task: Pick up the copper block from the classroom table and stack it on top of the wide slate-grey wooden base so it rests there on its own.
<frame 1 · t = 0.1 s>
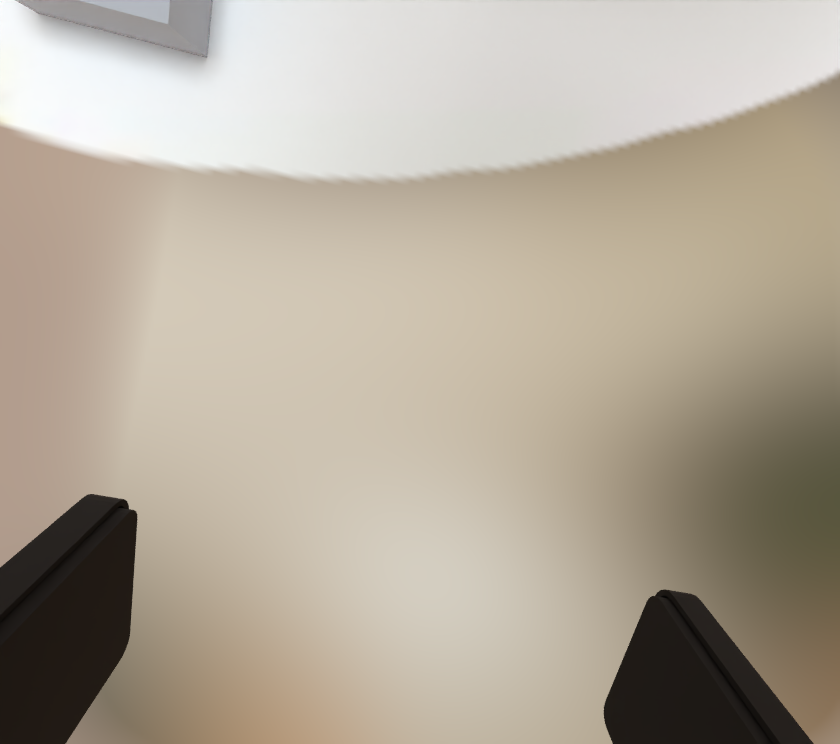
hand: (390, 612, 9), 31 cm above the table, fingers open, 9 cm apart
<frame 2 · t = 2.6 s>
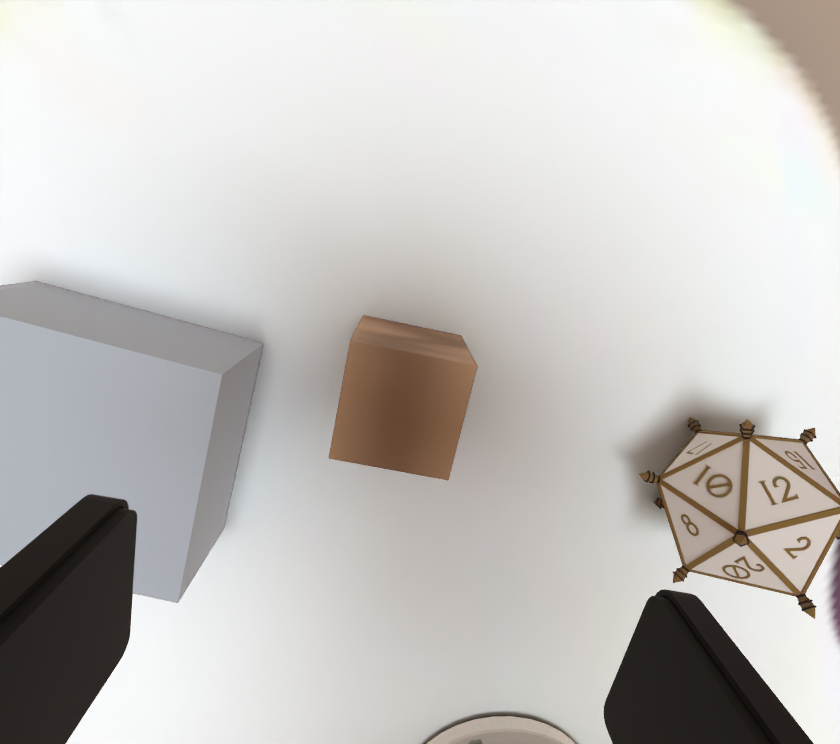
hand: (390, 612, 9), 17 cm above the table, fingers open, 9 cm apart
copper block: (402, 372, 25), on the table
slate base: (139, 412, 26), on the table
game die: (694, 465, 27), on the table
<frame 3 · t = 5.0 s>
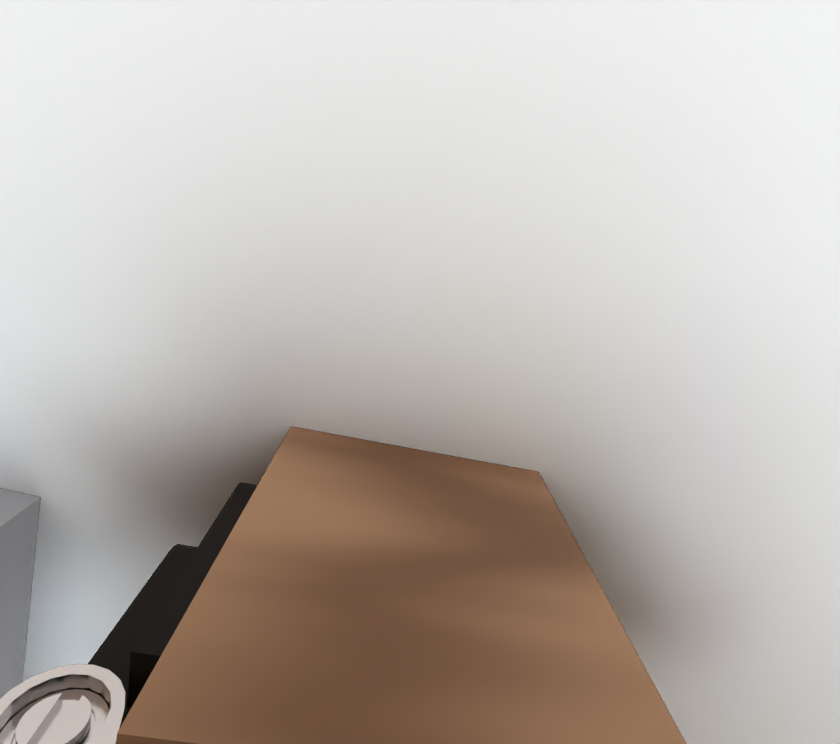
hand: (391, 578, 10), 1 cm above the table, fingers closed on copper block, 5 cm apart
copper block: (392, 555, 10), on the table, touching gripper
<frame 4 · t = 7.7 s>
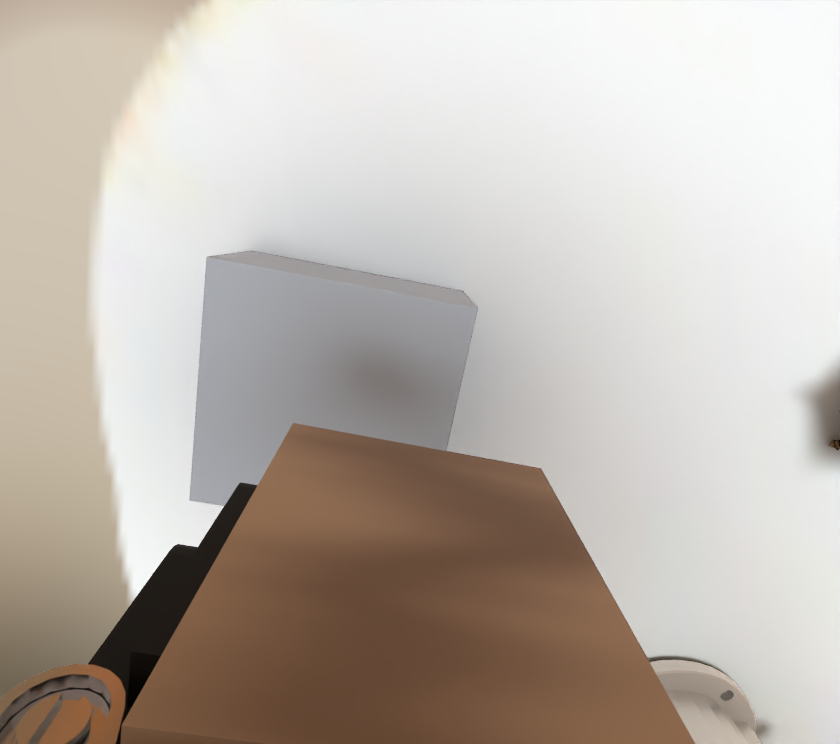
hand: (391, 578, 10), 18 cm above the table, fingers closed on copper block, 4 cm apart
copper block: (394, 552, 10), point 17 cm above the table, touching gripper
slate base: (343, 370, 27), on the table
when the fingers open (8 cm above the table, at t = 10.4 s): copper block drops 2 cm, resting on slate base.
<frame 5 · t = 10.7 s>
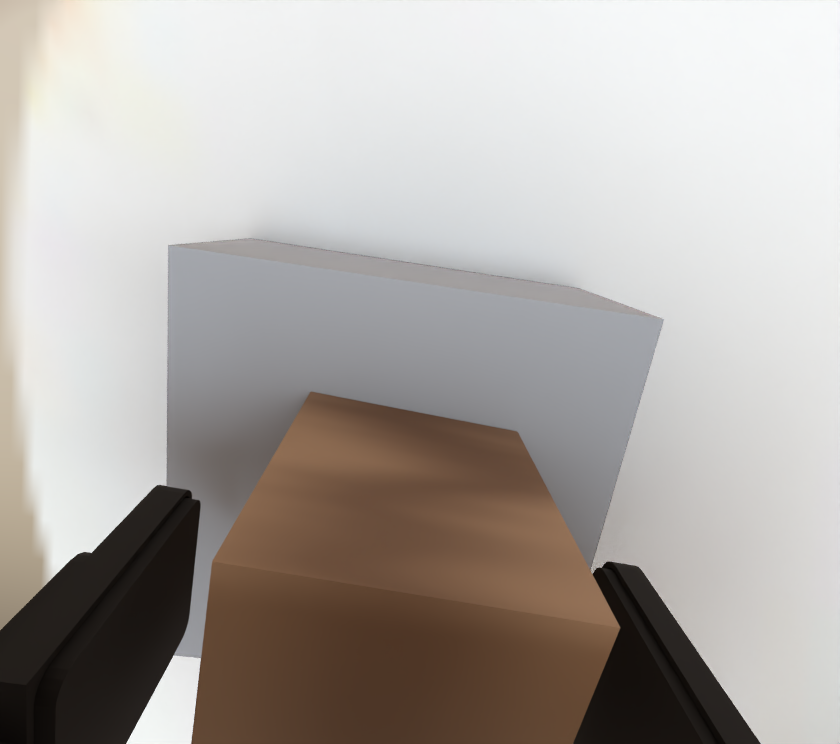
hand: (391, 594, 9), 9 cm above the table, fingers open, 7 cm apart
copper block: (395, 503, 12), point 6 cm above the table, touching slate base
slate base: (396, 414, 18), on the table, touching copper block
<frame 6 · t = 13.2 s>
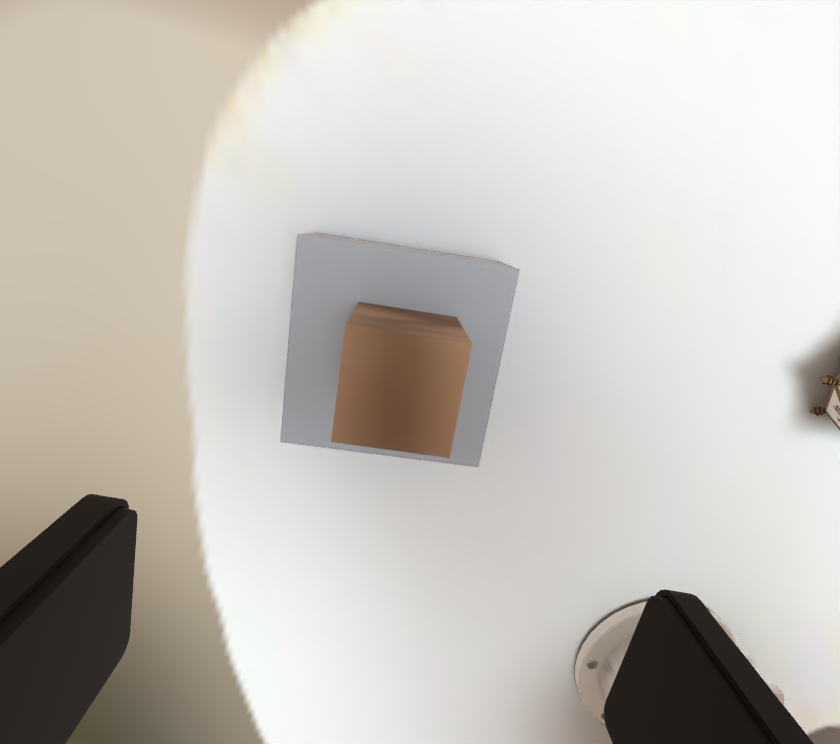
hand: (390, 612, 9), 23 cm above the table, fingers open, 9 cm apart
copper block: (400, 356, 26), point 6 cm above the table, touching slate base
slate base: (396, 334, 31), on the table, touching copper block
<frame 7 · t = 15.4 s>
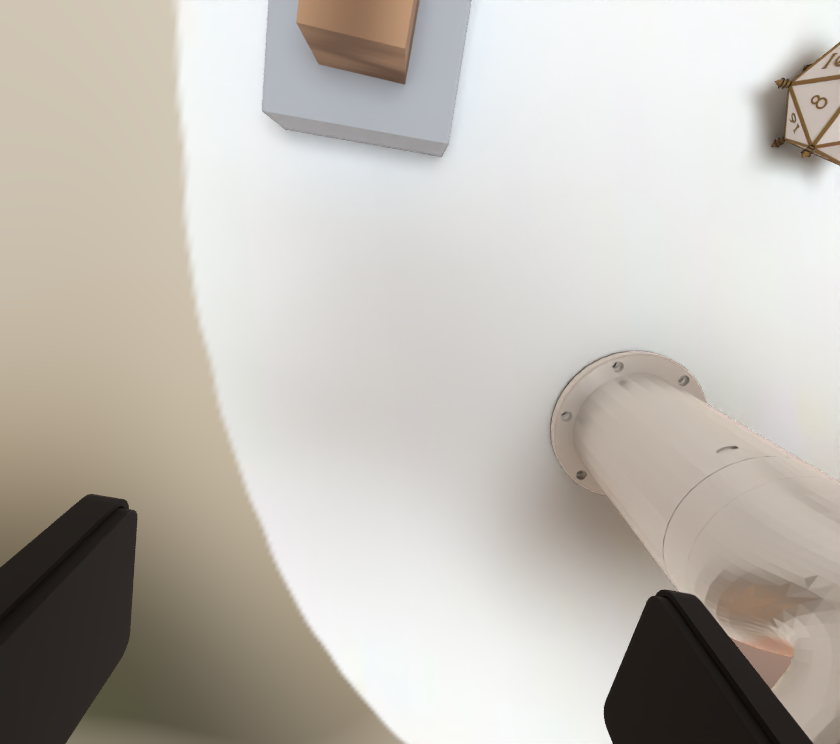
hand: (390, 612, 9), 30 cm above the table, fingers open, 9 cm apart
copper block: (369, 24, 27), point 6 cm above the table, touching slate base
slate base: (374, 55, 33), on the table, touching copper block
game die: (804, 113, 35), on the table
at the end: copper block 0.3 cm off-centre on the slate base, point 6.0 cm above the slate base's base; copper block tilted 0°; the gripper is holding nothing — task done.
